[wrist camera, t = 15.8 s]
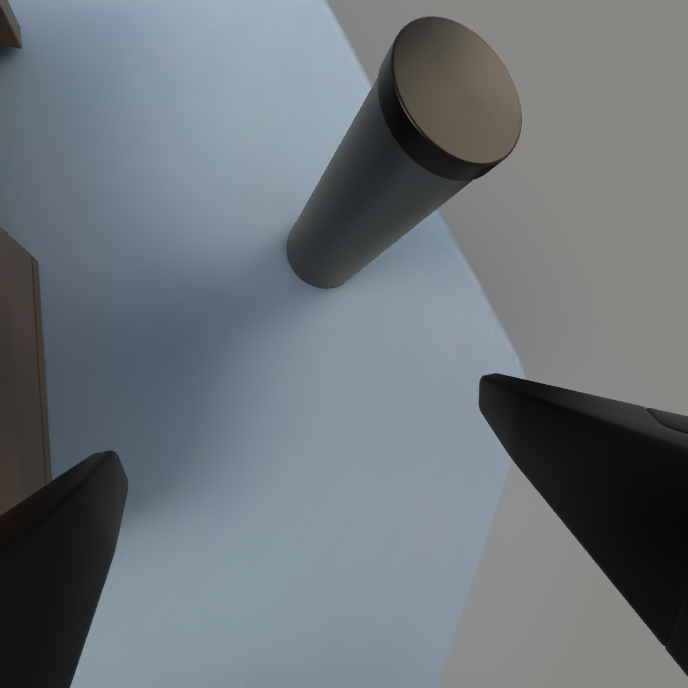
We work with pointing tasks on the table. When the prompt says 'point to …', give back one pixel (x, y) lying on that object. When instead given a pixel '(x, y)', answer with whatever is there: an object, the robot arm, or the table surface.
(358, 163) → the canister
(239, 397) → the table surface
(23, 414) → the drawer unit
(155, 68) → the table surface
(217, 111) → the table surface
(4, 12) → the drawer
